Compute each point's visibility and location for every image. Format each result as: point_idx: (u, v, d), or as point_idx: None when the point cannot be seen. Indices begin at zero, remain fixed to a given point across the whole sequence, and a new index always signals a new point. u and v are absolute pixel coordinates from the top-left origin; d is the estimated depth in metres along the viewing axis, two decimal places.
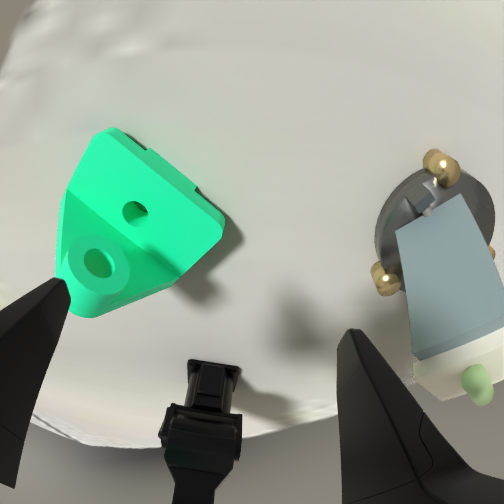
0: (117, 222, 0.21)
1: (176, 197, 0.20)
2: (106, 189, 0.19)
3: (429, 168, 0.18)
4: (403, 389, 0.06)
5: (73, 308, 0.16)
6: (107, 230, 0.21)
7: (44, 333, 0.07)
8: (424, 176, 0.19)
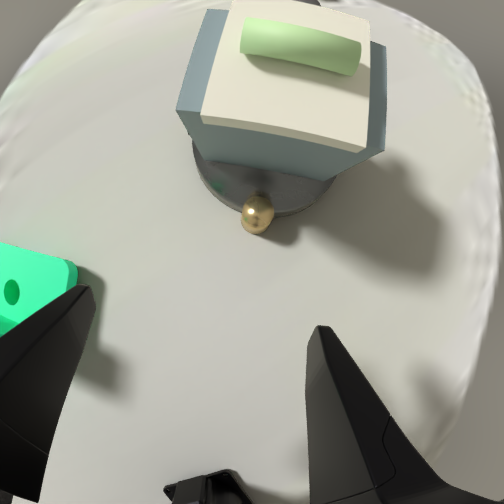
0: (4, 308, 0.18)
1: (29, 256, 0.19)
2: None
3: None
4: (369, 390, 0.06)
5: None
6: None
7: (70, 342, 0.07)
8: None
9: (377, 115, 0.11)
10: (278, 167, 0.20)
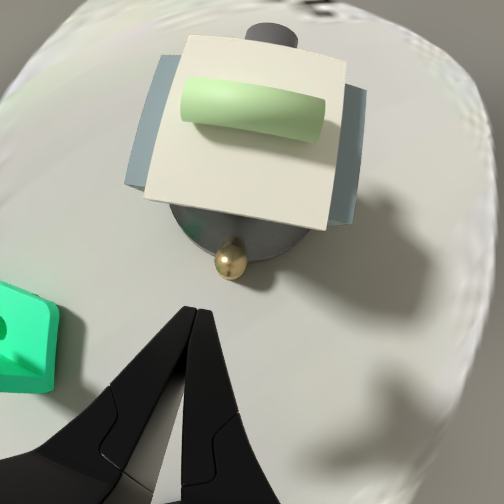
0: None
1: (14, 296, 0.18)
2: None
3: None
4: (223, 380, 0.06)
5: None
6: None
7: (183, 372, 0.07)
8: None
9: (347, 182, 0.11)
10: None
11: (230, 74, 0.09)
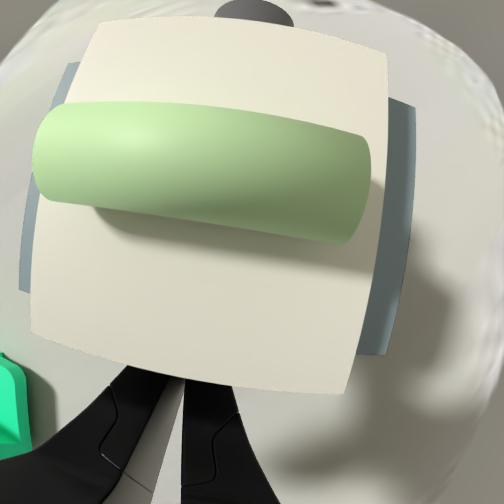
0: None
1: None
2: None
3: None
4: None
5: None
6: None
7: None
8: None
9: (384, 286, 0.06)
10: None
11: (159, 84, 0.05)
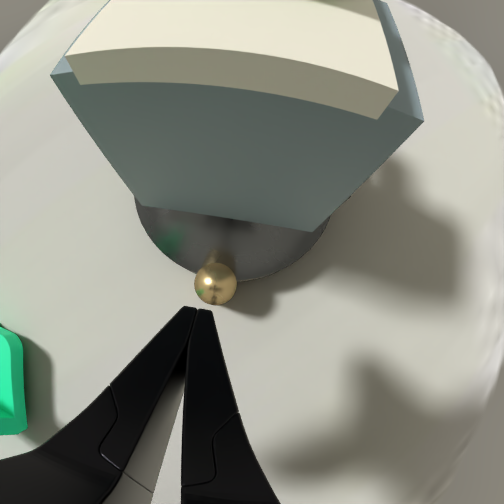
0: None
1: None
2: None
3: None
4: (223, 380, 0.06)
5: None
6: None
7: (183, 372, 0.07)
8: None
9: (398, 69, 0.06)
10: (243, 210, 0.13)
11: None
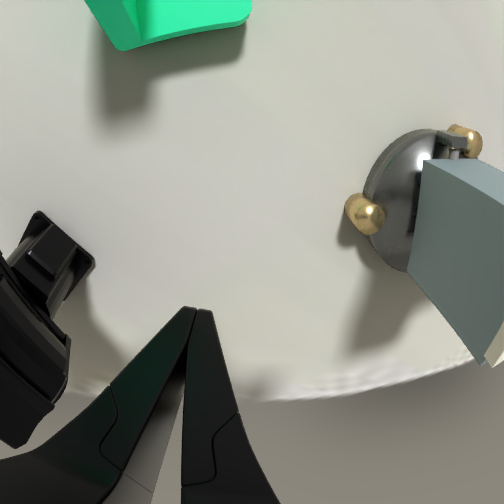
0: None
1: None
2: None
3: (455, 132, 0.17)
4: (223, 380, 0.06)
5: None
6: None
7: (183, 372, 0.07)
8: None
9: None
10: (426, 241, 0.17)
11: None
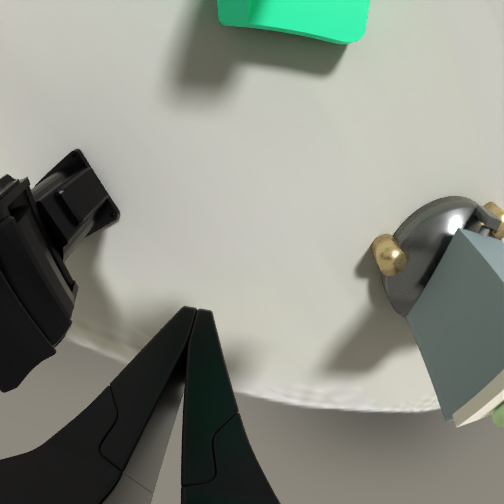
0: None
1: None
2: None
3: (491, 210, 0.18)
4: (223, 380, 0.06)
5: None
6: None
7: (183, 372, 0.07)
8: None
9: None
10: (434, 299, 0.18)
11: None
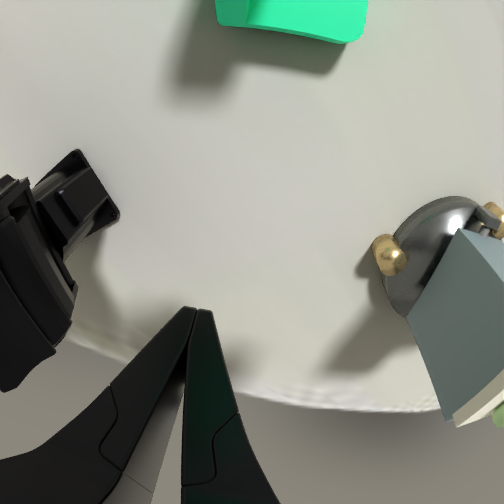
0: None
1: None
2: None
3: (491, 210, 0.18)
4: (223, 380, 0.06)
5: None
6: None
7: (183, 372, 0.07)
8: None
9: None
10: (434, 299, 0.18)
11: None
